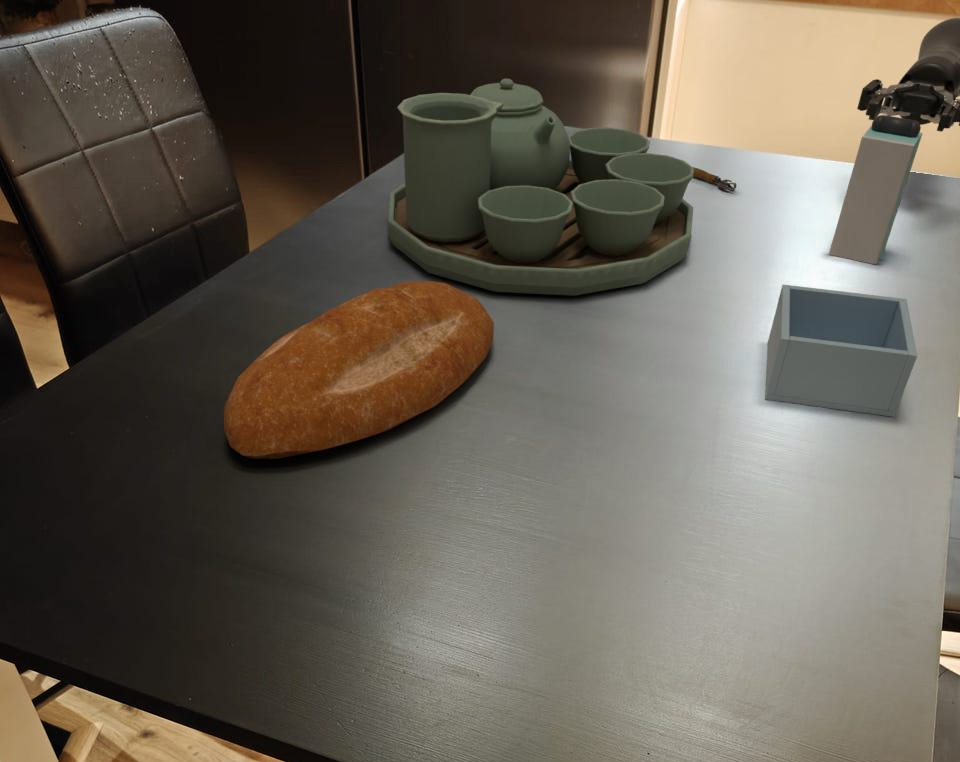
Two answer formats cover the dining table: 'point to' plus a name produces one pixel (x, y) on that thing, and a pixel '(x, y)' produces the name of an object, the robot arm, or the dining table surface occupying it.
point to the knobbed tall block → (876, 188)
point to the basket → (840, 350)
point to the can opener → (713, 179)
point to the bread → (358, 370)
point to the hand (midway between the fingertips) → (907, 117)
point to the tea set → (533, 197)
